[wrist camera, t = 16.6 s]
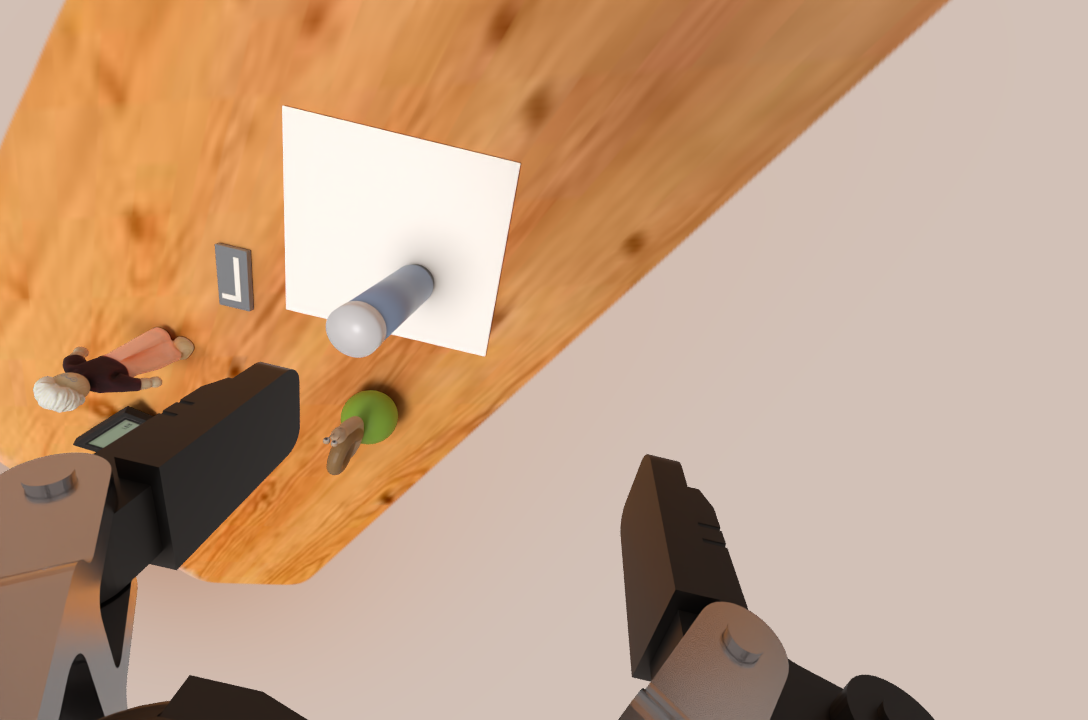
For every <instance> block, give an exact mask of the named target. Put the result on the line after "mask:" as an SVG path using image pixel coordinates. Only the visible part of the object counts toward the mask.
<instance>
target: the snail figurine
mask: <svg viewBox="0 0 1088 720" xmlns="http://www.w3.org/2000/svg"><path fill="white" fill-rule="evenodd" d="M397 421H398V411H397V407H396V405H395V403H394V402H393V400H392V399H391V398H390V397H389V396H387V395H386V394H384V393H382V392H379V391H375V390H367V391H362V392H359V393H357V394H355V395H354V396H352V397H351V398H350V399H349V400H348V401H347V402H346V403H345V405H344V407H343V409H342V413H341V424H340V426H339V427H337V428H335V429H334V430H333V431H332V433H331V435H330V436H329V437H326V438H324V439H323V443H324V444H328V443H330V439H329V438H330V437H331V440H332V442H331V446H332V448H331V450H330V453H329V456H328V460H327V470H328V472H329V473H330V474H332V475H338V474H340V473H341V472H343V470H344V469H345V468H346V466H347V464H348V463H349V461H350V458H351V457H352V456H353V455H354V454H355V453H356V451H357V449H358V448H359V446H360V443H362V444H375V443H378V442H381V441H383V440H385V439H386V438H387V437H389V436H390V435H391V434H392V432H393V431H394V429H395V427H396V425H397Z"/></svg>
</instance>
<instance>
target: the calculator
mask: <svg viewBox="0 0 1088 720" xmlns="http://www.w3.org/2000/svg"><path fill="white" fill-rule="evenodd" d="M152 417H153V416H151V415H149V414H146V413H144V412H141V411H139V410H136V409H134V408H131V407H129V406H127V407H125V408H124V409H122V410H120V411H119V412H117V413H116V414H114V415H113V416H111V417H109V418H108V419H106V420H105V421H103V422H101V423H100V424H98V425H97V426H95V427H94V428H92V429H90V430H89V431H87V432H86V433H84V434H82V435H81V436H79V437H78V438H76V440H75V442H74V444H73V445H75V446H78V447H82V448H85V449H88V450H91V451H95V452H98V451H99V450H101V449H102V448H104V447H106V446H107V445H109V444H110V443H112V442H114V441H115V440H117V439H118V438H120V437H122V436H123V435H125V434H126V433H128V432H129V431H131V430H133V429H134V428H136V427H137V426H139V425H141V424H142V423H144V422H145V421H147V420H149V419H150V418H152Z"/></svg>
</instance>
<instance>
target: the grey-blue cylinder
mask: <svg viewBox="0 0 1088 720" xmlns="http://www.w3.org/2000/svg"><path fill="white" fill-rule="evenodd" d="M433 288H434V278H433V276H432V274H431V272H430V271H429V270H428V269H427V268H425V267H424V266H422V265H418V264H412V265H405V266H403V267H401V268H400V269H398V270H397V271H395V272H394V273H392V274H391V275H389V276H387V277H386V278H384V279H383V280H381V281H380V282H378V283H377V284H375V285H374V286H372V287H370V288H369V289H367V290H366V291H364V292H363V293H361V294H360V295H358V296H357V297H355V298H354V299H352V300H350V301H349V302H347V303H345V304H343V305H341V306H340V307H338V308H337V309H335V310H334V311H333V312H331V314H330V315H329V316H328V319H327V322H326V332H327V335H328V338H329V340H330V341H331V343H332V344H333V346H334V347H335V348H336V349H338V350H339V351H340V352H342V353H343V354H345V355H348V356H351V357H358V358H359V357H365V356H368V355H370V354H371V353H373V352H374V351H375V350H376V349H377V348H378V347H379V346H380V345H381V344H382V343H383V341H384V340H385V339H386V338H387V337H389V336H390V335H391V334H392V333H393V332H394V331H395V330H396V329H397V328H398V327H399V326H400V325H401V324H402V323H403V322H404V321H405V320H406V319H407V318H408V317H410V316H411V315H412V314H413V313H414V312H415V311H416V310H417V309H418V308H419V307H420V306H421V305H422V304H423V303H424V302H425V301H426V300H427V299H428V298H429V297H430V296H431V294H432V291H433Z"/></svg>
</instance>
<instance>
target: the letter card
mask: <svg viewBox="0 0 1088 720" xmlns="http://www.w3.org/2000/svg"><path fill="white" fill-rule="evenodd" d="M215 253H216V265H217V277H218V289H219V301H220V304H221V305H225V306H229V307H234V308H238V309H242V310H246V311H251V310H253V309H254V306H253V286H252V267H251V250H247V249H243V248H239V247H235V246H231V245H226V244H222V243H217V244H215Z"/></svg>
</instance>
